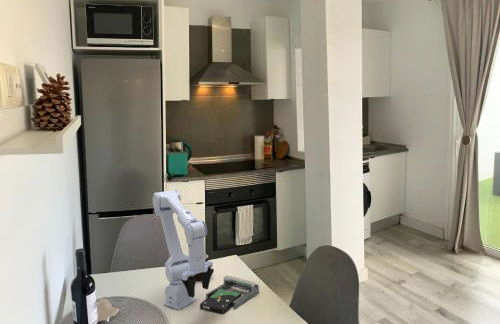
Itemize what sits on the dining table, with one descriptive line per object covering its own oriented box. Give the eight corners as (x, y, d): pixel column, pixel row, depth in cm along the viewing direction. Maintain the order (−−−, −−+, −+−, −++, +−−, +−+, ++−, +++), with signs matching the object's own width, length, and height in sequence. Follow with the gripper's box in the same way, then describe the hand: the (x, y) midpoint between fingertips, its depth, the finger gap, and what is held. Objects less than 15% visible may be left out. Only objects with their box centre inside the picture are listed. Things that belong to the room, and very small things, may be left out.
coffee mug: (207, 282, 178) (206, 260, 177) (187, 282, 178) (186, 260, 177) (210, 272, 189) (209, 251, 188) (192, 272, 190) (191, 251, 188)
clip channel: (234, 308, 154) (234, 295, 153) (206, 299, 161) (205, 287, 161) (258, 292, 167) (258, 280, 166) (231, 284, 175) (231, 273, 174)
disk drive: (223, 316, 150) (242, 298, 163) (223, 309, 149) (242, 292, 162) (199, 310, 154) (219, 294, 167) (199, 303, 154) (219, 287, 167)
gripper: (191, 264, 137) (193, 303, 138) (218, 251, 149) (220, 287, 150) (176, 260, 141) (178, 298, 142) (203, 248, 153) (205, 283, 154)
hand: (198, 292), depth 147 cm, fingers open, 7 cm apart
